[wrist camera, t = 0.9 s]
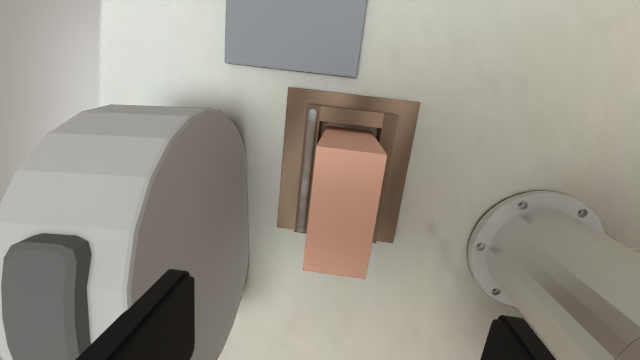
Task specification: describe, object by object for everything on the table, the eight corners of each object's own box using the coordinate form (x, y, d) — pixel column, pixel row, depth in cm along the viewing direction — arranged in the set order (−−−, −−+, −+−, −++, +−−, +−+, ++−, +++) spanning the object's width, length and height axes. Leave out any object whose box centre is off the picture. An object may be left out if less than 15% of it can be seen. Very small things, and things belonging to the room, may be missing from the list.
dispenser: (417, 102, 29) (431, 103, 24) (391, 238, 33) (398, 261, 28) (290, 87, 29) (280, 86, 25) (278, 223, 33) (268, 243, 29)
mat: (374, -62, 26) (375, -68, 25) (355, 77, 29) (355, 77, 28) (232, -75, 26) (228, -81, 25) (228, 63, 29) (224, 62, 28)
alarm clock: (170, 101, 31) (-114, 114, 12) (244, 104, 30) (73, 122, 11) (187, 289, 36) (15, 502, 17) (250, 294, 36) (143, 518, 17)
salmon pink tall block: (370, 130, 29) (387, 154, 17) (358, 210, 31) (365, 279, 20) (327, 125, 29) (316, 146, 18) (318, 205, 31) (302, 270, 20)
